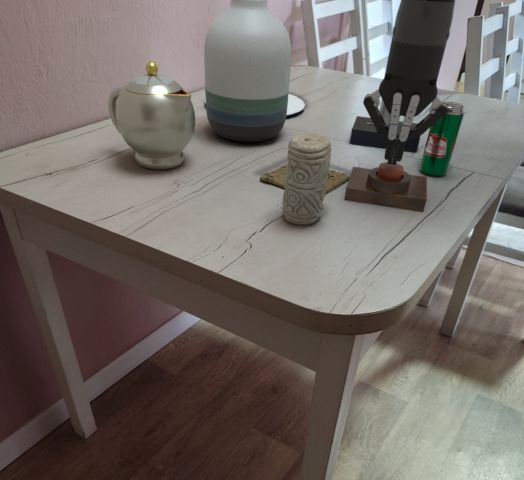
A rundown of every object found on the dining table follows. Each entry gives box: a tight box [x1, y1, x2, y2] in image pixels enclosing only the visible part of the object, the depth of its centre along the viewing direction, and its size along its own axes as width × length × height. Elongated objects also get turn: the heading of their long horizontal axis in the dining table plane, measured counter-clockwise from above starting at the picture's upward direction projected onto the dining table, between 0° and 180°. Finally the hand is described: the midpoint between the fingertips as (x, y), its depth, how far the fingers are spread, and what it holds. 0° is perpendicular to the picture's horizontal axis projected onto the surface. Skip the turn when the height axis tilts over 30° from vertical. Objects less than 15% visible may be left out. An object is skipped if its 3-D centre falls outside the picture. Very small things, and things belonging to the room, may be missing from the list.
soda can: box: [419, 101, 465, 178], centre depth 89 cm, size 5×5×12 cm
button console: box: [344, 166, 428, 213], centre depth 83 cm, size 13×10×4 cm
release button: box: [377, 161, 405, 181], centre depth 80 cm, size 4×4×2 cm
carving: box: [282, 134, 332, 226], centre depth 72 cm, size 6×8×12 cm
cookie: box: [259, 163, 350, 195], centre depth 87 cm, size 12×12×1 cm
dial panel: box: [349, 115, 421, 153], centre depth 105 cm, size 14×10×3 cm
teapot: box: [107, 61, 196, 171], centre depth 85 cm, size 18×14×16 cm
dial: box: [379, 99, 401, 126], centre depth 102 cm, size 4×4×5 cm
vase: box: [203, 0, 292, 143], centre depth 97 cm, size 17×17×24 cm
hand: (391, 162), depth 79 cm, fingers closed
